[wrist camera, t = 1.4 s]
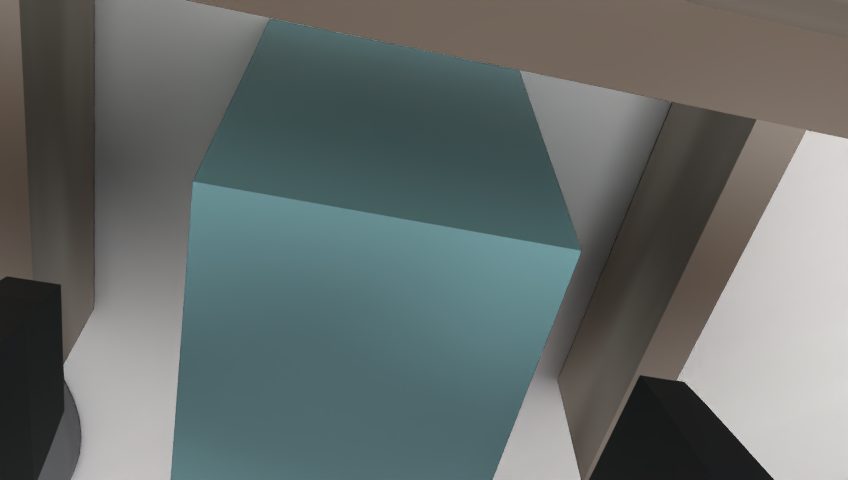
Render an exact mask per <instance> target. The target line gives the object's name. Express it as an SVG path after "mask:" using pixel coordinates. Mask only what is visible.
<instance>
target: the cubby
mask: <svg viewBox="0 0 848 480" xmlns="http://www.w3.org/2000/svg"><path fill="white" fill-rule="evenodd" d="M188 1H192V2H197V3H202V4H207V5H212V6H216V7H221V8H226V9H231V10H235V11H240V12H245V13H250V14H255V15H259V16H264V17H269V18H274V19H279V20H283V21H288V22H293V23H298V24H302V25H307V26H312V27H317V28H322V29H326V30H331V31H336V32H341V33H345V34H350V35H355V36H360V37H365V38H369V39H374V40H379V41H384V42H389V43H393V44H398V45H403V46H408V47H412V48H417V49H422V50H427V51H432V52H436V53H441V54H446V55H451V56H455V57H460V58H465V59H470V60H475V61H479V62H484V63H489V64H494V65H498V66H503V67H508V68H513V69H518V70H522V71H527V72H532V73H537V74H542V75H546V76H551V77H556V78H561V79H565V80H570V81H575V82H580V83H585V84H589V85H594V86H599V87H604V88H608V89H613V90H618V91H623V92H628V93H632V94H637V95H642V96H647V97H652V98H656V99H661V100H666V101H671V102H673V103H672V105H671V107H670V110H669V112H668V115H667V117H666V120H665V122H664V124H663V127H662V129H661V132H660V134H659V136H658V139H657V141H656V144H655V146H654V149H653V151H652V153H651V156H650V158H649V161H648V163H647V166H646V168H645V170H644V173H643V175H642V178H641V180H640V182H639V185H638V187H637V190H636V192H635V195H634V197H633V199H632V202H631V204H630V207H629V209H628V211H627V214H626V216H625V219H624V221H623V224H622V226H621V228H620V231H619V233H618V236H617V238H616V240H615V243H614V245H613V248H612V250H611V253H610V255H609V257H608V260H607V262H606V265H605V267H604V269H603V272H602V274H601V277H600V279H599V282H598V284H597V286H596V289H595V291H594V294H593V296H592V298H591V301H590V303H589V306H588V308H587V311H586V313H585V315H584V318H583V320H582V323H581V325H580V327H579V330H578V332H577V335H576V337H575V340H574V342H573V344H572V347H571V349H570V352H569V354H568V356H567V359H566V361H565V364H564V366H563V369H562V371H561V373H560V376H559V378H558V385H559V389H560V393H561V398H562V402H563V406H564V410H565V414H566V418H567V423H568V427H569V431H570V435H571V439H572V444H573V448H574V452H575V456H576V460H577V465H578V469H579V473H580V477H581V480H589V479H590V476H591V474H592V472H593V470H594V468H595V466H596V464H597V462H598V460H599V458H600V456H601V454H602V452H603V450H604V448H605V446H606V444H607V442H608V440H609V437H610V435H611V433H612V431H613V429H614V427H615V425H616V423H617V421H618V419H619V417H620V415H621V413H622V411H623V409H624V407H625V405H626V403H627V401H628V398H629V396H630V394H631V392H632V390H633V388H634V386H635V384H636V382H637V380H638V378H639V376H640V375H642V376H649V377H655V378H661V379H668V380H674V381H676V380H677V378H678V376H679V374H680V372H681V370H682V369H683V367H684V365H685V363H686V361H687V359H688V357H689V355H690V353H691V351H692V349H693V347H694V345H695V343H696V342H697V340H698V338H699V336H700V334H701V332H702V330H703V328H704V326H705V324H706V322H707V320H708V318H709V317H710V315H711V313H712V311H713V309H714V307H715V305H716V303H717V301H718V299H719V297H720V295H721V293H722V292H723V290H724V288H725V286H726V284H727V282H728V280H729V278H730V276H731V274H732V272H733V270H734V268H735V266H736V265H737V263H738V261H739V259H740V257H741V255H742V253H743V251H744V249H745V247H746V245H747V243H748V241H749V240H750V238H751V236H752V234H753V232H754V230H755V228H756V226H757V224H758V222H759V220H760V218H761V216H762V215H763V213H764V211H765V209H766V207H767V205H768V203H769V201H770V199H771V197H772V195H773V193H774V191H775V190H776V188H777V186H778V184H779V182H780V180H781V178H782V176H783V174H784V172H785V170H786V168H787V166H788V164H789V163H790V161H791V159H792V157H793V155H794V153H795V151H796V149H797V147H798V145H799V143H800V141H801V139H802V138H803V136H804V134H805V132H806V130H809V131H814V132H819V133H824V134H828V135H833V136H838V137H843V138H848V0H188ZM6 276H9V277H15V278H22V279H28V280H35V281H41V282H47V283H54V284H60V285H61V302H62V338H63V364H64V363H65V361H66V359H67V357H68V355H69V353H70V352H71V350H72V348H73V346H74V344H75V342H76V341H77V339H78V337H79V335H80V333H81V331H82V330H83V328H84V326H85V324H86V322H87V320H88V319H89V317H90V315H91V313H92V311H93V309H94V0H0V280H2V279H3V278H5V277H6Z"/></svg>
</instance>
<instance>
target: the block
mask: <svg viewBox="0 0 848 480" xmlns="http://www.w3.org/2000/svg"><path fill="white" fill-rule="evenodd" d="M581 251H582V250H581V248H580V245H579V242H578V239H577V236H576V233H575V230H574V227H573V224H572V222H571V219H570V216H569V213H568V210H567V207H566V204H565V201H564V198H563V196H562V193H561V190H560V187H559V184H558V181H557V178H556V175H555V172H554V170H553V167H552V164H551V161H550V158H549V155H548V152H547V149H546V146H545V144H544V141H543V138H542V135H541V132H540V129H539V126H538V123H537V120H536V118H535V115H534V112H533V109H532V106H531V103H530V100H529V97H528V94H527V92H526V89H525V86H524V83H523V80H522V77H521V74H520V71H519V70H514V69H509V68H505V67H500V66H495V65H490V64H485V63H481V62H476V61H471V60H466V59H461V58H457V57H452V56H447V55H442V54H438V53H433V52H428V51H423V50H418V49H414V48H409V47H404V46H399V45H394V44H390V43H385V42H380V41H375V40H370V39H366V38H361V37H356V36H351V35H346V34H342V33H337V32H332V31H327V30H322V29H318V28H313V27H308V26H303V25H298V24H294V23H289V22H284V21H279V20H274V19H270V20H269V22H268V25H267V27H266V29H265V31H264V33H263V35H262V37H261V39H260V41H259V43H258V46H257V48H256V50H255V52H254V54H253V56H252V58H251V60H250V62H249V65H248V67H247V69H246V71H245V73H244V75H243V77H242V79H241V81H240V83H239V86H238V88H237V90H236V92H235V94H234V96H233V98H232V100H231V102H230V104H229V107H228V109H227V111H226V113H225V115H224V117H223V119H222V121H221V123H220V126H219V128H218V130H217V132H216V134H215V136H214V138H213V140H212V142H211V144H210V147H209V149H208V151H207V153H206V155H205V157H204V159H203V161H202V163H201V165H200V168H199V170H198V172H197V174H196V176H195V178H194V180H193V187H192V200H191V213H190V227H189V240H188V254H187V267H186V281H185V294H184V307H183V321H182V334H181V348H180V361H179V375H178V388H177V402H176V415H175V428H174V442H173V455H172V469H171V480H492V479H493V477H494V474H495V472H496V469H497V467H498V464H499V461H500V459H501V456H502V454H503V451H504V449H505V446H506V444H507V441H508V438H509V436H510V433H511V431H512V428H513V426H514V423H515V420H516V418H517V415H518V413H519V410H520V408H521V405H522V403H523V400H524V397H525V395H526V392H527V390H528V387H529V385H530V382H531V379H532V377H533V374H534V372H535V369H536V367H537V364H538V362H539V359H540V356H541V354H542V351H543V349H544V346H545V344H546V341H547V338H548V336H549V333H550V331H551V328H552V326H553V323H554V321H555V318H556V315H557V313H558V310H559V308H560V305H561V303H562V300H563V297H564V295H565V292H566V290H567V287H568V285H569V282H570V280H571V277H572V274H573V272H574V269H575V267H576V264H577V262H578V259H579V256H580V254H581Z"/></svg>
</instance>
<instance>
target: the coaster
mask: <svg viewBox="0 0 848 480" xmlns="http://www.w3.org/2000/svg"><path fill="white" fill-rule="evenodd" d="M64 408H65V410H64V413H63V416H62V418H61V421H60V424H59V426H58V429H57V432H56V434H55V437H54V440H53V442H52V445H51V448H50V450H49V453H48V455H47V458H46V460H45V463H44V465H43V468H42V470H41V473H40V475H39V478H38V480H70V479H71V477H72V475H73V472H74V470H75V467H76V464H77V461H78V457H79V454H80V443H81V433H80V423H79V418H78V414H77V411H76V407H75V404H74V401H73V399H72V396H71V394H70V392H69V390H68V388H67V386H66V384H65V382H64Z"/></svg>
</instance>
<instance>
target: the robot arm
mask: <svg viewBox="0 0 848 480" xmlns="http://www.w3.org/2000/svg"><path fill="white" fill-rule="evenodd" d="M64 410H65V408H64V373H63V338H62V302H61V285H60V284H54V283H47V282H41V281H35V280H28V279H22V278H15V277H9V276H6V277H5V278H3V279H2V280H0V480H38V478H39V475H40V473H41V470H42V468H43V465H44V463H45V460H46V458H47V455H48V453H49V450H50V448H51V445H52V442H53V440H54V437H55V434H56V432H57V429H58V426H59V424H60V421H61V418H62V416H63V413H64ZM589 480H774V479H773V478H772V477H771V476H770V475H769V474H768V473H767V471H766V470H765V469H764V468H763V467H762V466H761V465H760V464H759V463H758V461H757V460H756V459H755V458H754V457H753V456H752V455H751V454H750V453H749V451H748V450H747V449H746V448H745V447H744V446H743V445H742V444H741V443H740V441H739V440H738V439H737V438H736V437H735V436H734V435H733V434H732V433H731V431H730V430H729V429H728V428H727V427H726V426H725V425H724V424H723V423H722V421H721V420H720V419H719V418H718V417H717V416H716V415H715V414H714V413H713V412H712V410H711V409H710V408H709V407H708V406H707V405H706V404H705V403H704V402H703V401H702V400H701V399H700V398H699V397H698V396H697V395H696V394H695V393H694V392H693V391H692V390H691V389H690V388H689V387H688V385H687V384H685V383H684V382H681V381H674V380H668V379H661V378H655V377H649V376H642V375H640V376H639V378H638V380H637V382H636V384H635V386H634V388H633V390H632V392H631V394H630V396H629V398H628V401H627V403H626V405H625V407H624V409H623V411H622V413H621V415H620V417H619V419H618V421H617V423H616V425H615V427H614V429H613V431H612V433H611V435H610V437H609V440H608V442H607V444H606V446H605V448H604V450H603V452H602V454H601V456H600V458H599V460H598V462H597V464H596V466H595V468H594V470H593V472H592V474H591V476H590V479H589Z"/></svg>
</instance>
